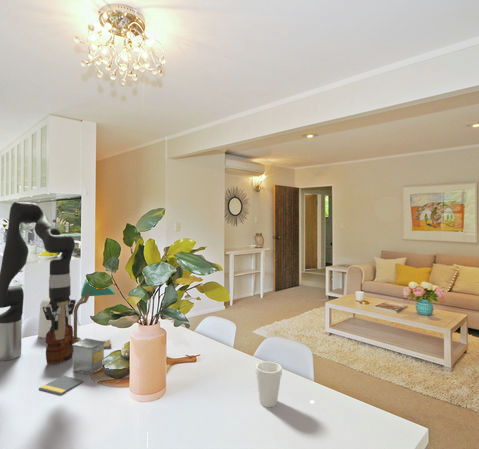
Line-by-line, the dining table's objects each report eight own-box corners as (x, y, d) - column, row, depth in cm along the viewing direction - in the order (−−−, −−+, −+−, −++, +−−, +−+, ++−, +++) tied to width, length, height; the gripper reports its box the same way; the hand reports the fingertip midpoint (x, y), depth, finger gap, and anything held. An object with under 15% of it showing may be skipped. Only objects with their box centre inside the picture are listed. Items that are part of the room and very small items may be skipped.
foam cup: (259, 411, 112) (260, 374, 112) (251, 397, 121) (252, 362, 121) (285, 407, 115) (285, 371, 115) (275, 394, 124) (276, 360, 124)
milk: (37, 336, 179) (38, 290, 179) (55, 330, 190) (55, 286, 190) (55, 339, 176) (55, 291, 175) (71, 332, 187) (72, 287, 186)
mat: (39, 389, 124) (39, 387, 124) (63, 376, 134) (63, 375, 134) (60, 395, 120) (60, 393, 120) (83, 381, 131) (84, 379, 131)
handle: (59, 341, 125) (59, 303, 125) (48, 339, 128) (48, 301, 128) (70, 338, 129) (70, 300, 129) (60, 335, 132) (60, 299, 132)
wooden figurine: (54, 366, 143) (55, 326, 143) (43, 364, 145) (44, 324, 145) (76, 356, 155) (76, 318, 154) (65, 354, 157) (66, 317, 156)
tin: (71, 371, 139) (72, 344, 139) (85, 363, 147) (86, 338, 147) (91, 375, 136) (91, 348, 136) (104, 367, 143) (105, 341, 143)
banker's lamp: (69, 345, 168) (70, 278, 168) (112, 339, 177) (113, 275, 177) (67, 356, 154) (68, 283, 154) (114, 350, 163) (115, 280, 162)
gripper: (67, 281, 137) (67, 322, 136) (36, 287, 123) (36, 332, 123) (81, 282, 134) (81, 324, 134) (51, 289, 121) (51, 335, 121)
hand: (59, 328), depth 128 cm, fingers closed on handle, 4 cm apart
